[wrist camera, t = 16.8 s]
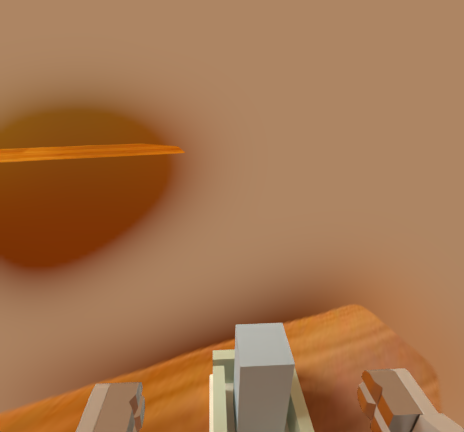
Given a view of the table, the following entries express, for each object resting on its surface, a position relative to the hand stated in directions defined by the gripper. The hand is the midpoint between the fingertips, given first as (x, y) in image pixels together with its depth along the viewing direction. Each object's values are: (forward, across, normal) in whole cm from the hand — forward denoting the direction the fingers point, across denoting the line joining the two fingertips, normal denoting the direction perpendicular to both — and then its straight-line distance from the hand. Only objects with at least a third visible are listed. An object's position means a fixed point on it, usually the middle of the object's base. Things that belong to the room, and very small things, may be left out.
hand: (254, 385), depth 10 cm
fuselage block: (+15, -4, +29) cm, 33 cm away
